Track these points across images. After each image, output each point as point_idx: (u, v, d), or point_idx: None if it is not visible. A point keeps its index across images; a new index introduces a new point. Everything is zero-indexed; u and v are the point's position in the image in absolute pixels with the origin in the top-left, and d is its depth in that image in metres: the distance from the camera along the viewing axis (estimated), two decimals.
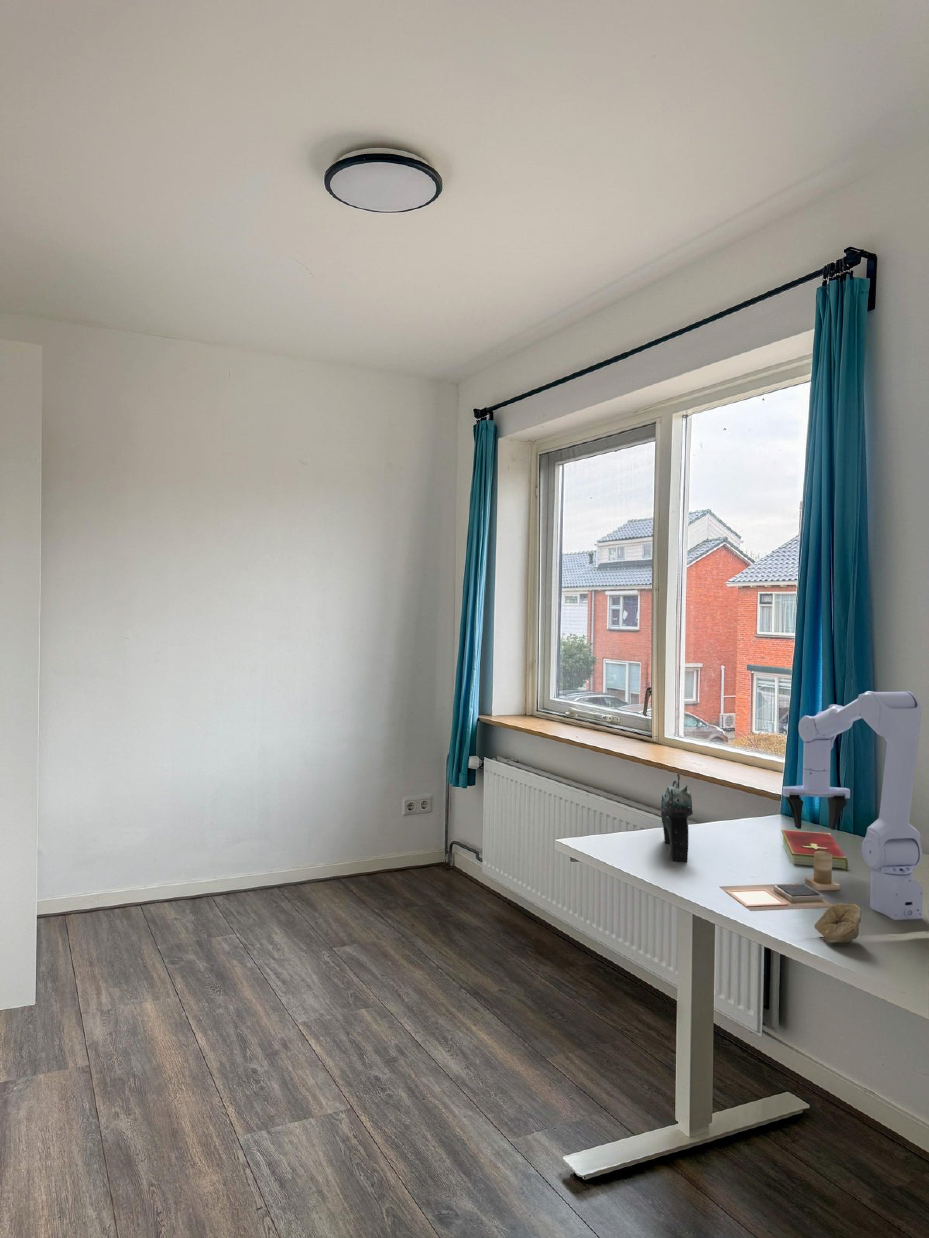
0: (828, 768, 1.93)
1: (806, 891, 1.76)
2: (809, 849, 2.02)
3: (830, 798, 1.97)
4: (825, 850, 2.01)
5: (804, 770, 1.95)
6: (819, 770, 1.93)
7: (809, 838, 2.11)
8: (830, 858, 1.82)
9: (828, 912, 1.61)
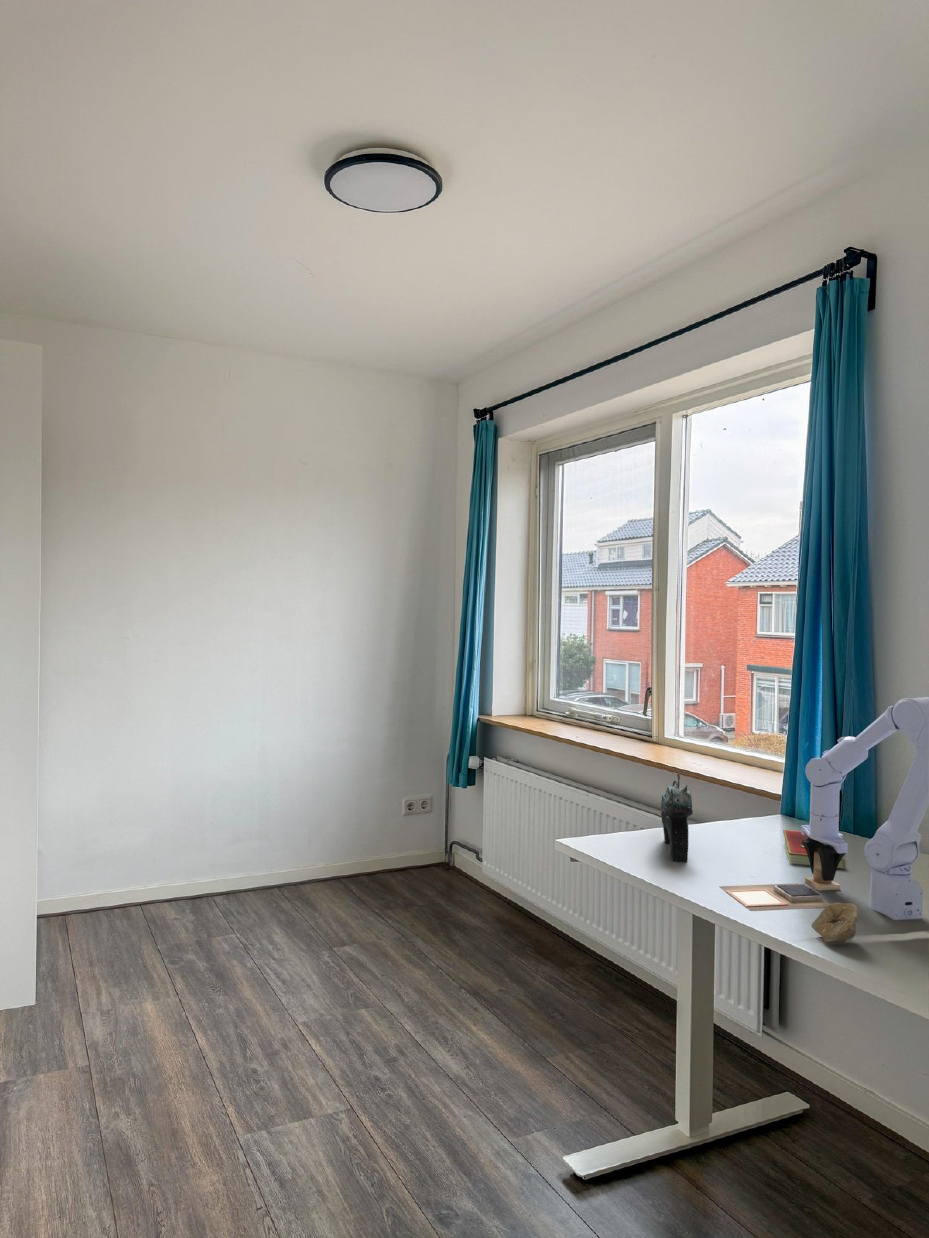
0: (838, 813, 1.82)
1: (806, 891, 1.76)
2: None
3: None
4: None
5: None
6: (811, 812, 1.83)
7: None
8: None
9: (825, 912, 1.61)
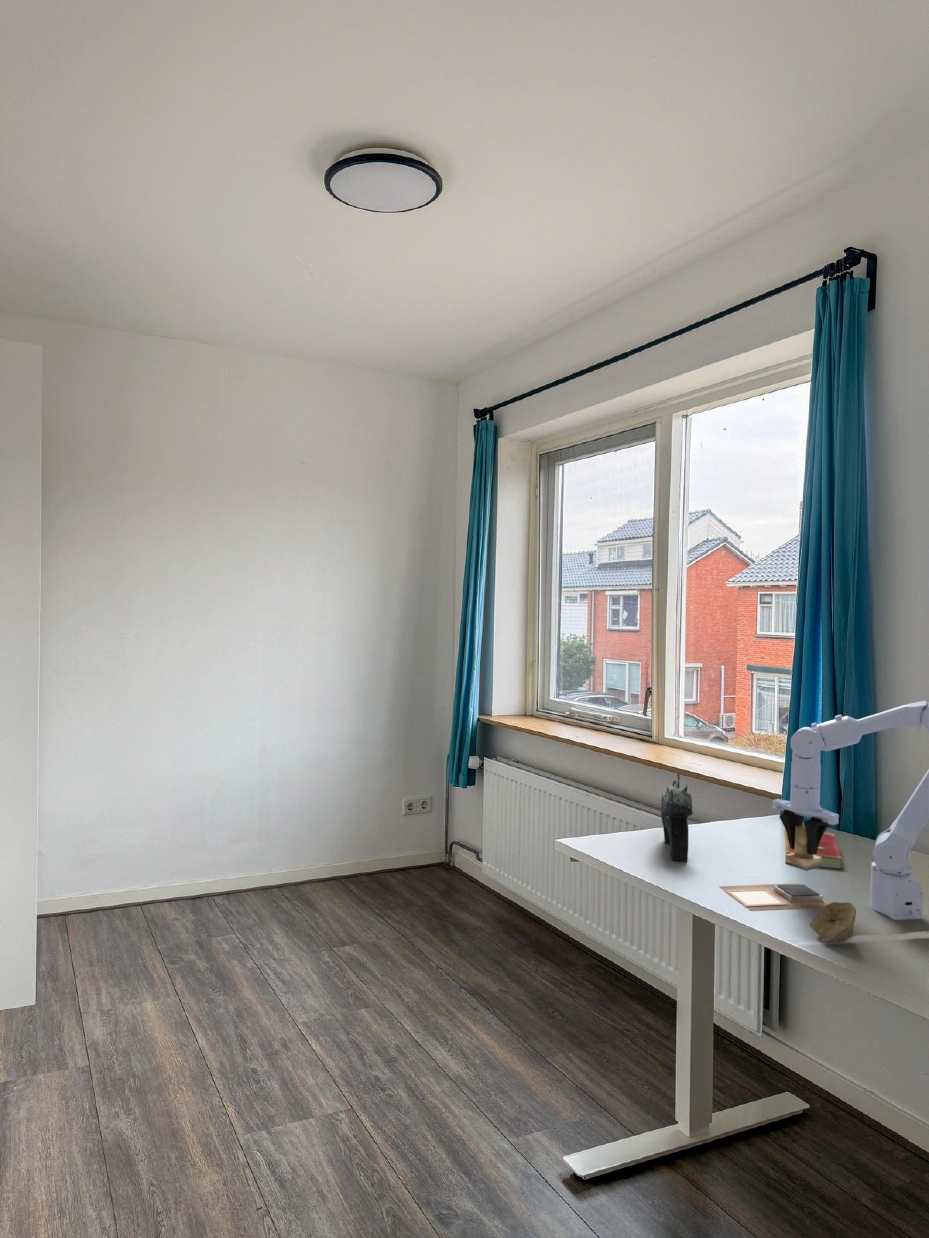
0: None
1: (806, 891, 1.76)
2: None
3: None
4: (821, 850, 2.01)
5: None
6: (795, 785, 1.77)
7: None
8: None
9: (823, 911, 1.61)
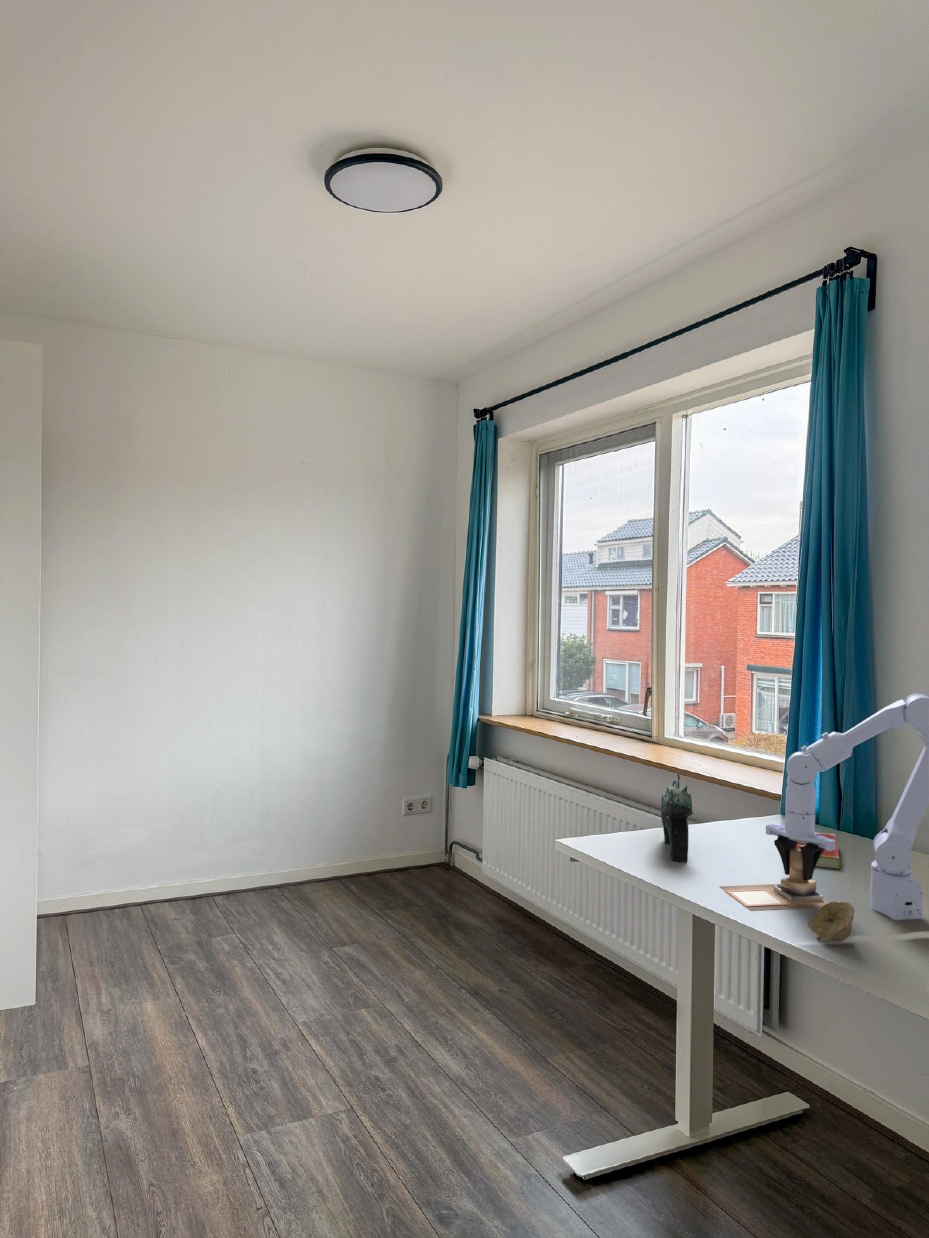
0: None
1: None
2: None
3: None
4: None
5: None
6: (790, 811, 1.76)
7: None
8: None
9: (822, 911, 1.62)
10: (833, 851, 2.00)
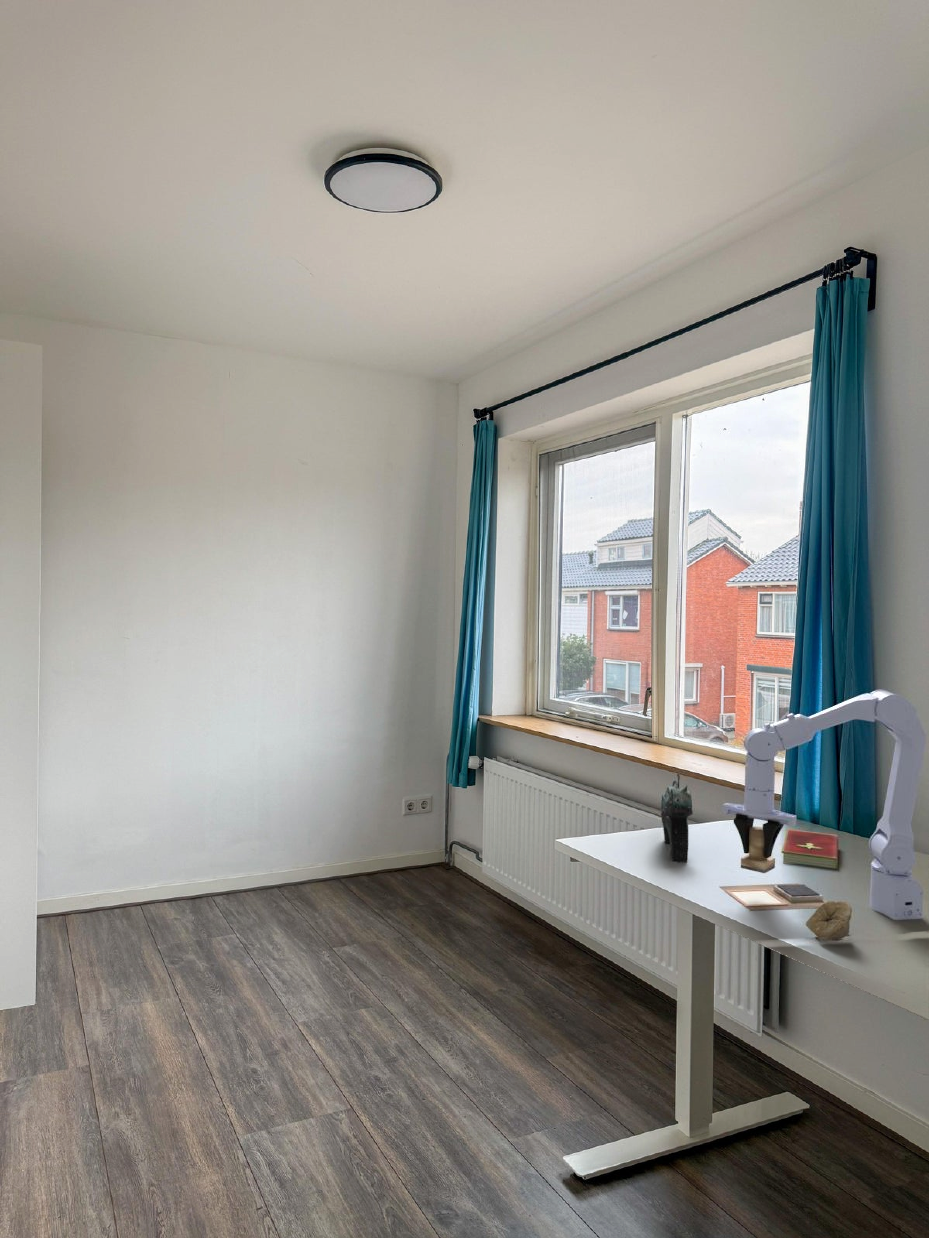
0: None
1: (806, 891, 1.76)
2: (802, 848, 2.03)
3: None
4: (818, 850, 2.01)
5: None
6: (752, 789, 1.73)
7: (810, 838, 2.11)
8: None
9: (820, 910, 1.62)
10: (831, 851, 2.00)
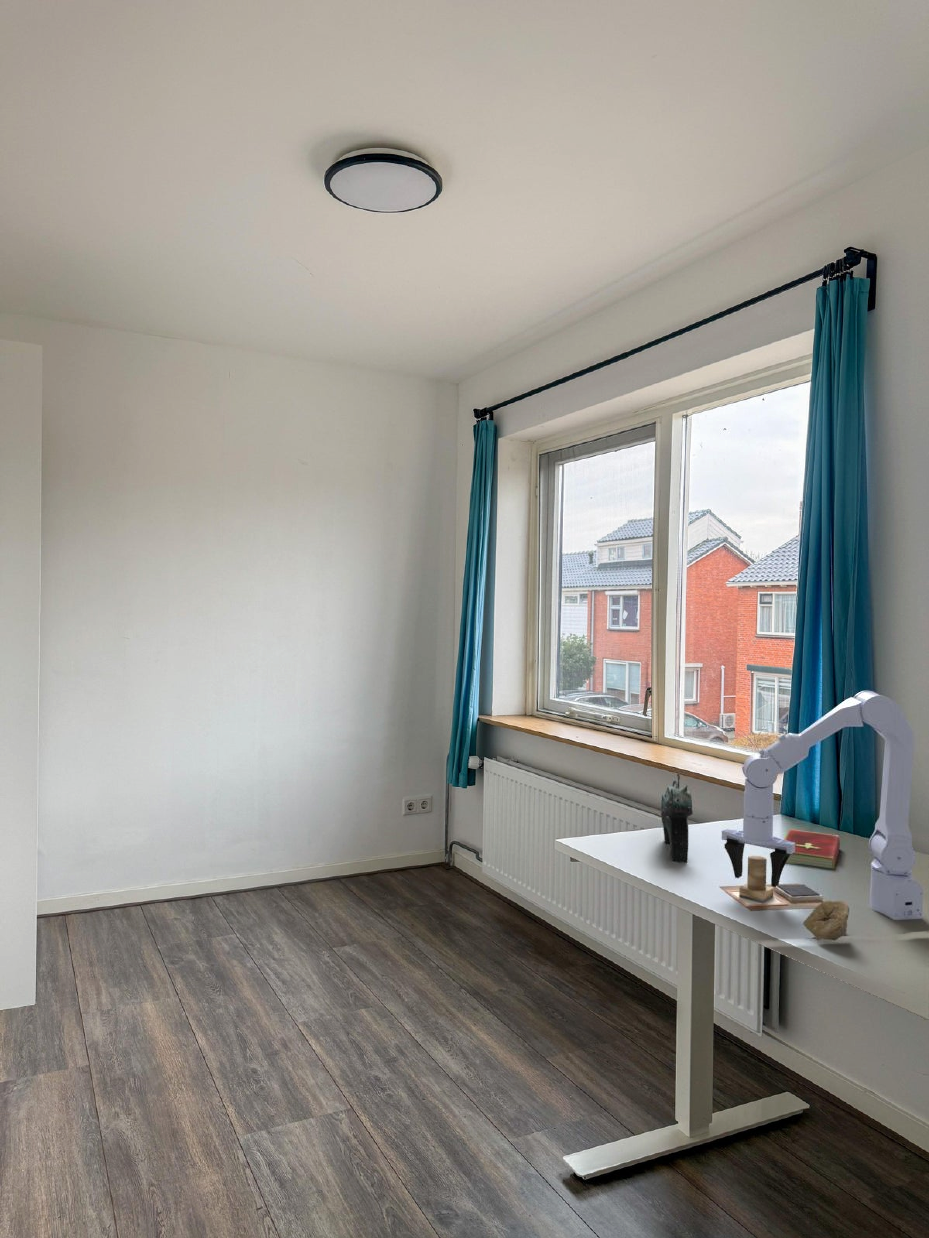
0: None
1: (806, 891, 1.76)
2: (800, 848, 2.03)
3: None
4: (817, 850, 2.01)
5: None
6: (751, 816, 1.73)
7: (810, 838, 2.11)
8: (766, 862, 1.75)
9: (817, 910, 1.62)
10: (829, 851, 2.00)
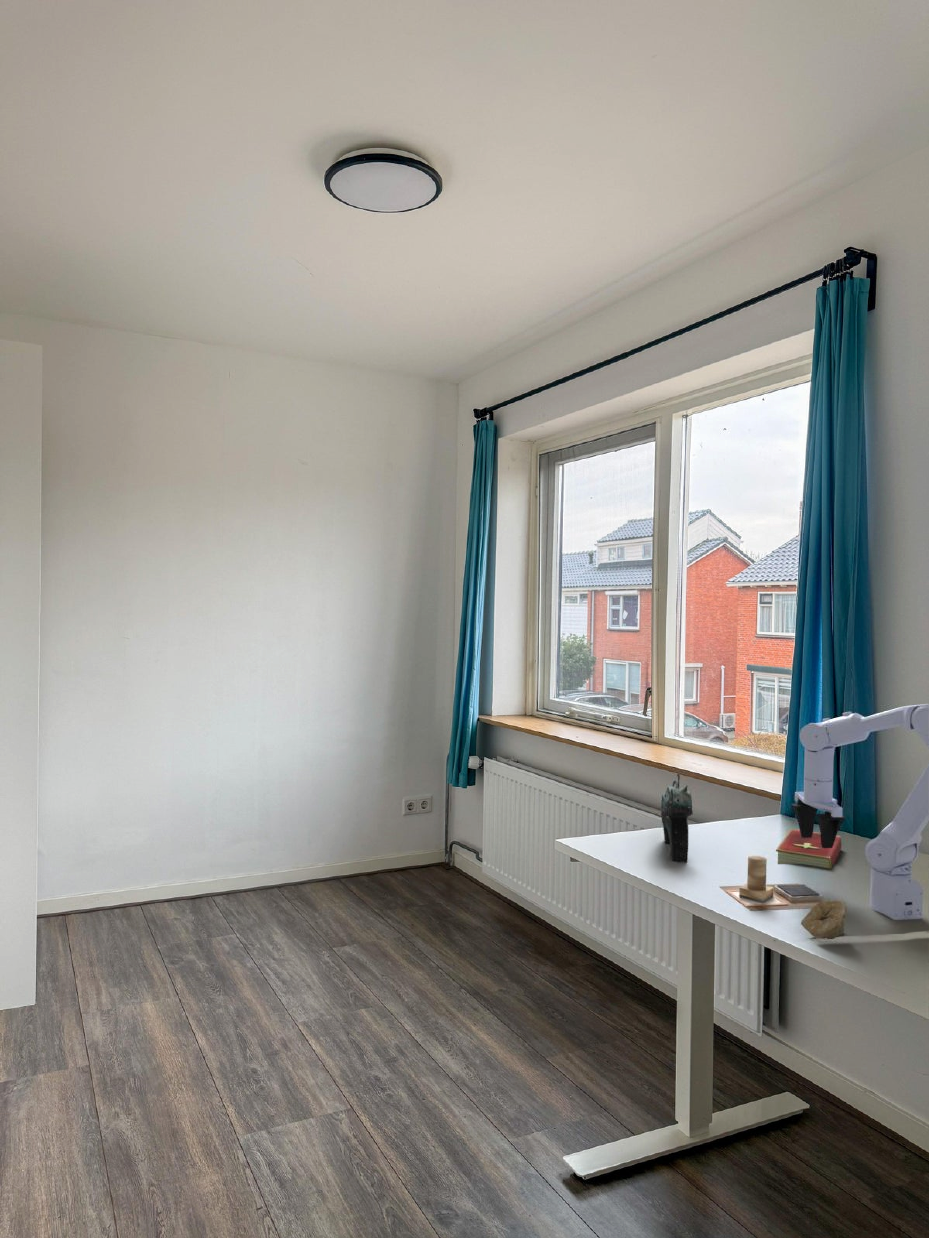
0: (832, 777, 1.82)
1: (806, 891, 1.76)
2: (798, 847, 2.03)
3: None
4: (815, 849, 2.01)
5: None
6: (805, 778, 1.83)
7: (811, 838, 2.11)
8: (766, 862, 1.75)
9: (815, 909, 1.62)
10: (828, 851, 2.00)
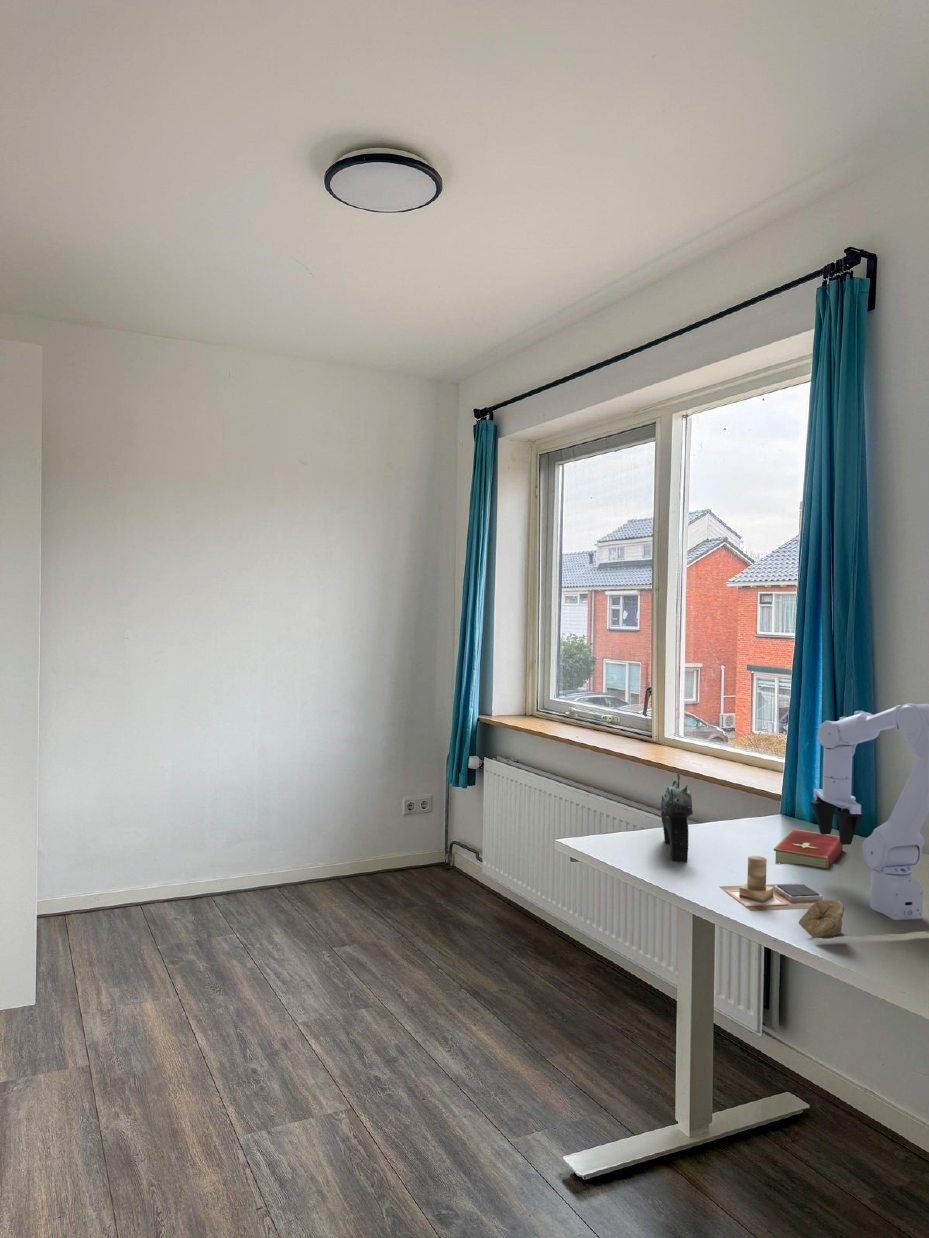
0: (850, 776, 1.84)
1: (806, 891, 1.76)
2: (797, 847, 2.03)
3: None
4: (813, 849, 2.02)
5: None
6: (824, 775, 1.86)
7: (811, 838, 2.11)
8: (766, 862, 1.75)
9: (813, 908, 1.63)
10: (826, 851, 2.00)
